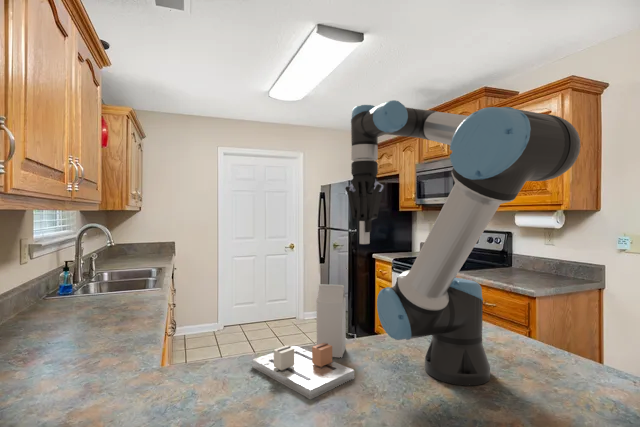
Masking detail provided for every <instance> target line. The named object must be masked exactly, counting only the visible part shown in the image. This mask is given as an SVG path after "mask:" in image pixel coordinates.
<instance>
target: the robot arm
mask: <svg viewBox="0 0 640 427" xmlns="http://www.w3.org/2000/svg"><path fill="white" fill-rule="evenodd" d="M350 125H351V129H350V133H351V134H350V135H351V142H350V143H351V147H350V148H351V150H350V151H351V152H350V154H351V158H350V160H351V161H352V162H351V166H350V167H351V172H350V173H351V175H352V180H351V184H350V185H348V186H346V187H345V191H346V193H347V196H348V202H349V206H350V213H351V218H352V219H355V220H357V231H358V233H359V245H369V244H370V243H371V242H370V240H371V239H370V238H371V237H370V234H371V232H372V221H374V220H376V219H378V216H379V210H380V206H381V200H382V195H383V193H384V190H385V188H386V185H385V184H381V183H380V182H379V179H378V177H377V175H378V174H379V170H378V169H379V163H378V161H377V160H378V158H379V157H378V156H379V155H378V154H379V153H378V151H379V150H378V144H379V143H378V142H379V137H381V136H384V135H385V136H386V135H388V136H397V137H398V136H399V137H407V138H408V137H410V138H417V139H418V138H419V139H423V140H426V141H427V140H428V141H433V142H436V143H439V144H440V143H441V144H444V145H448V146H450V147H449V150H450V151H451V154H449V159H450V163H451V165H452V170H451V176H452V178H453V181H454V184H453V186H452V188H451V191H450V192H449V194H448V196H447V198H446V200H445V202H444V203H443V206H442V208H441V210H440V212H439V214H438V216H437V217H436V219H435V221H434V224H433V225H432V227H431V229H430V231H429V233H428V235H427V237H426V239H425V241H424V243H423V245H422V247H421V248H420V251H419V252H418V255H417V257H416V258H415V259H414V260H415V261H414V262H413V264H412V265H411V268H410V269H408V270H404V271H403V272H401V273H400V274H399V275H398V278H397V279H396V282H395V284H394V285H393V286H392V287H390V286H386V287H385V288H382V289H381V290H380V291H378V292H379V293H378V295H377V299H376V309H377V314H378V315H377V316H378V319H379V321H380V324H381V326H382V328H383V330H384V332H385V333H386V334H387V335H388V336H389V337H390V338H392V339H394V340H395V341H401V340H403V341H404V340H406V341H408V340H411V339H412V340H413V339H418V338H423V337H428V336H431V339H430V342H429V345H428V348H427V351H426V354H425V357H424V370H425V372H426V373H427V374H428V375H429V376H430V377H432V378H434V379H436V380H439V381H441V382H444V383H447V384H451V385H458V386H466V387H467V386H468V387H470V386H479V385H483V384H486V383H487V382H489V381H490V379H491V366H490V363H489V360H488V357H487V354H486V351H485V347H484V346H483V345H484V344H483V312H484V311H483V302H484V298H483V289H482V286H481V285H480V283H478V282H477V281H474V280H471V279H468V278H467V279H466V278H462V277H461V278H459V277H457V275H458V274H459V272H460V270H461V268H462V267H463V265H464V264H465V262H466V261H467V259H468V258H469V255H470V254H471V253H472V251H473V249H474V248H475V246H476V245H477V243H478V241H479V239H480V238H481V237H482V235H483V234H484V231H485V230H486V228H487V227H488V225H489V224H490V222H491V221H492V219H493V218H494V216H495V213H496V212H497V210H498V209H499V208H500V205H502V204H505V203H511V202H513V201H514V200H515V199H516V198H517V197H518V195H519V194H520V192H521V190H522V189H523V187H524V185H525V184H526V183H527V182H545V181H549V180H553V179H556V178H558V177H561V176H562V175H563V174H565V173H566V172H567V171H569V170H570V169H571V168H572V167H573V166H574V164H575V163H576V161H577V159H578V158H579V156H580V151H581V139H580V138H581V137H580V135H579V133H578V131H577V129H576V128H575V127H574V125H573V124H572V123H571V122H569V120H567V119H564V118H563V117H561V116H558V115H554V114H545V113H540V112H535V111H528V110H524V109H518V108H514V107H511V106H510V107H508V106H504V107H503V106H502V107H501V106H500V107H496V106H489V107H484V108H480V109H479V110H477V111H474V112H472V113H471V114H469V115H463V114H457V113H456V114H455V113H450V112H442V111H438V110H437V111H436V110H431V109H429V110H427V109H419V108H413V107H406V106H405V105H404V104H403V103H401V102H400V101H399V100H389V101H386V102H382V103H380V104H379V105H377V106H376V105H373V104H361V105H357V106H354V107H353V109H352V111H351V119H350Z"/></svg>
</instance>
